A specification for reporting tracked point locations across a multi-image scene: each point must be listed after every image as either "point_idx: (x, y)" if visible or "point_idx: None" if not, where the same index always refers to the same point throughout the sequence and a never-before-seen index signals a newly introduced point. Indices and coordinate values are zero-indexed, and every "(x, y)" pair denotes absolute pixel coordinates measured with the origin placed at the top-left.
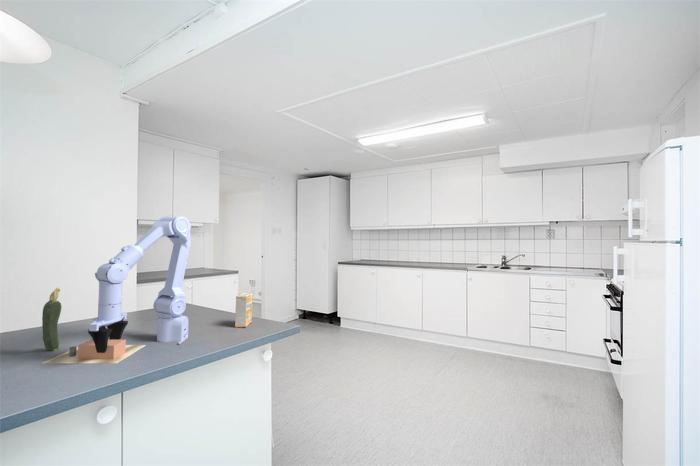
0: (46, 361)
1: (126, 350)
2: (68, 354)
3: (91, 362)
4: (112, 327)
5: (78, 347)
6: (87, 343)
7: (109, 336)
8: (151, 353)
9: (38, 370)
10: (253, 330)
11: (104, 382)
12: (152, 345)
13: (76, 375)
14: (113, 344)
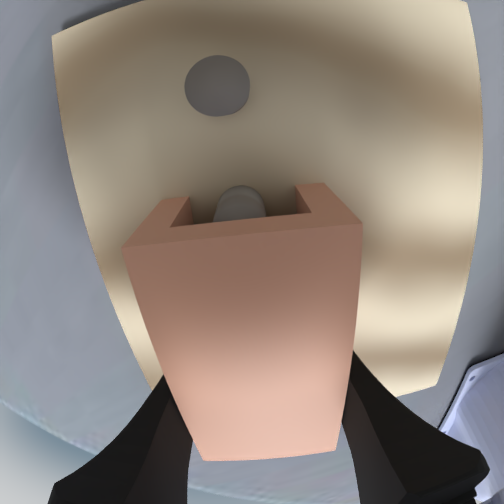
0: (80, 30)
1: None
2: (246, 35)
3: (135, 331)
4: (379, 486)
5: (128, 240)
6: (195, 295)
7: (357, 399)
8: (341, 433)
9: (13, 98)
10: None
11: (61, 427)
12: (454, 376)
13: (40, 335)
14: (222, 453)
